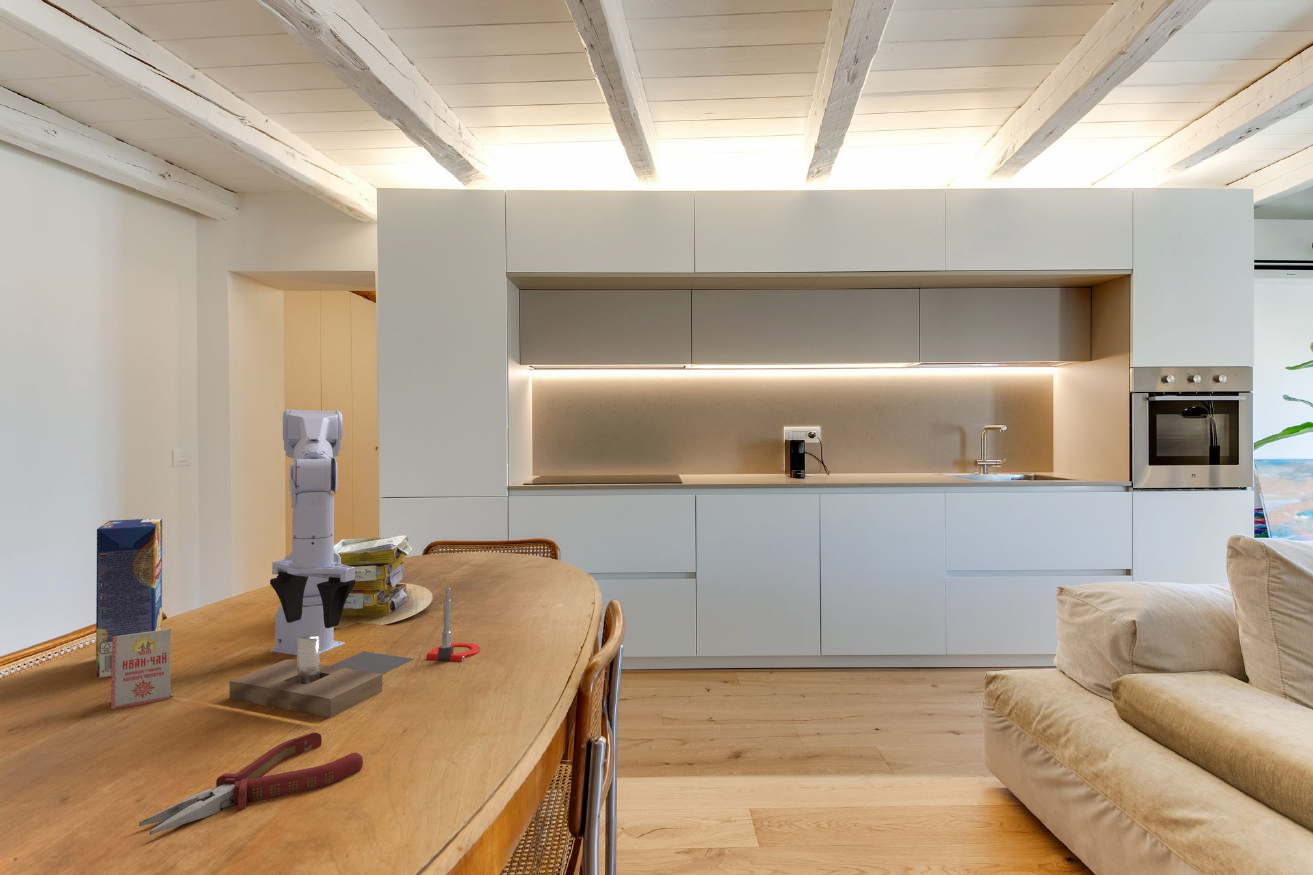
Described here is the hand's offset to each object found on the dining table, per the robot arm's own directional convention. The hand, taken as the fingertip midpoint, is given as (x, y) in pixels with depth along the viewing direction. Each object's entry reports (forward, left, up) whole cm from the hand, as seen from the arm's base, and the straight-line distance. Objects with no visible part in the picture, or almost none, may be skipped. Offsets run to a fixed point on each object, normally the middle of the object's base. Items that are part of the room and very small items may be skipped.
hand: (312, 623), depth 102 cm
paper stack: (-23, +39, -11) cm, 46 cm away
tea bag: (-20, -12, -11) cm, 26 cm away
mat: (+1, +11, -10) cm, 15 cm away
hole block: (+2, -2, -10) cm, 11 cm away
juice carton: (-38, -1, -11) cm, 40 cm away
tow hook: (+11, +22, -11) cm, 26 cm away
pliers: (+16, -23, -11) cm, 30 cm away
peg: (+2, -2, -10) cm, 11 cm away
